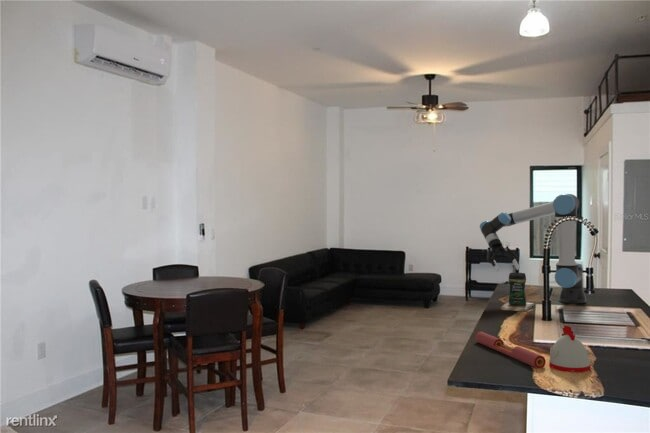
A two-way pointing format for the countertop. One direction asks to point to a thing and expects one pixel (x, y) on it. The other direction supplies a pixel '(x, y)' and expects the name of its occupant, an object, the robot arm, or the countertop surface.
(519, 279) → the coffee jar
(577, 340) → the grey hat
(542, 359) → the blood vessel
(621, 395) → the countertop surface
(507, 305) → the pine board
